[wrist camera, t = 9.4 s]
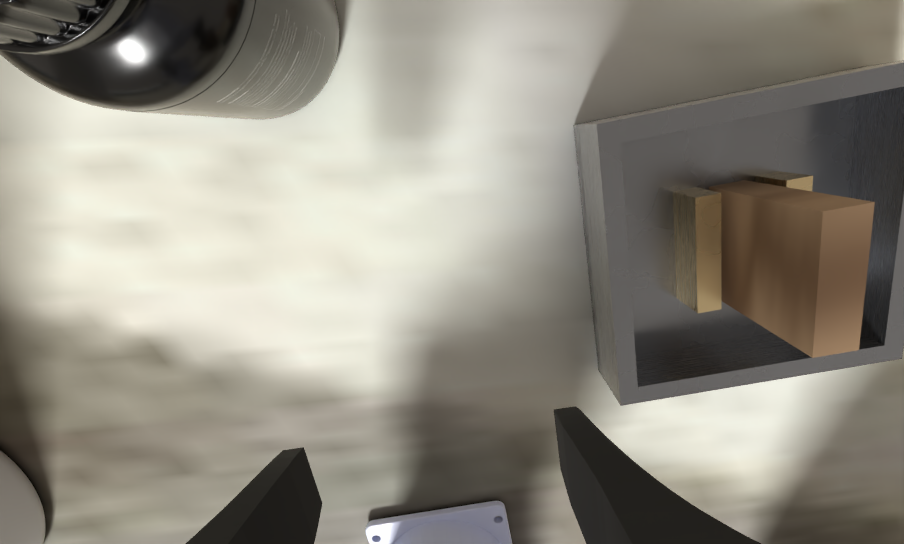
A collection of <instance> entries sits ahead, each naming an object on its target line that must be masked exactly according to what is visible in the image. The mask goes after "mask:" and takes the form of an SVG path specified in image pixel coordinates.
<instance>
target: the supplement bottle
mask: <svg viewBox="0 0 904 544" xmlns="http://www.w3.org/2000/svg"><path fill="white" fill-rule="evenodd" d="M338 47H339V21H338V14H337V9H336V5H335V1H334V0H0V55H1V56H2V57H4V58H5V59H6V60H7V61H8V62H10V63H11V64H12V65H14V66H15V67H16V68H18V69H19V70H21V71H22V72H23V73H25V74H26V75H28V76H29V77H31V78H32V79H34V80H36V81H37V82H39V83H41V84H42V85H44V86H46V87H48V88H50V89H52V90H54V91H56V92H58V93H60V94H62V95H64V96H67V97H69V98H72V99H74V100H77V101H80V102H83V103H87V104H90V105H94V106H98V107H103V108H109V109H116V110H123V111H124V110H125V111H132V112H146V113H161V114H177V115H193V116H208V117H224V118H240V119H271V118H277V117H282V116H285V115H288V114H291V113H293V112H296V111H298V110H299V109H301V108H303V107H304V106H306V105H307V104H308V103H310V102H311V101H312V100H313V99H314V98H315V97H316V96H317V95H318V94H319V93H320V91H321V90H322V89H323V87H324V86H325V84H326V83H327V81H328V79H329V77H330V75H331V73H332V70H333V68H334V65H335V62H336V58H337V53H338Z"/></svg>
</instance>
